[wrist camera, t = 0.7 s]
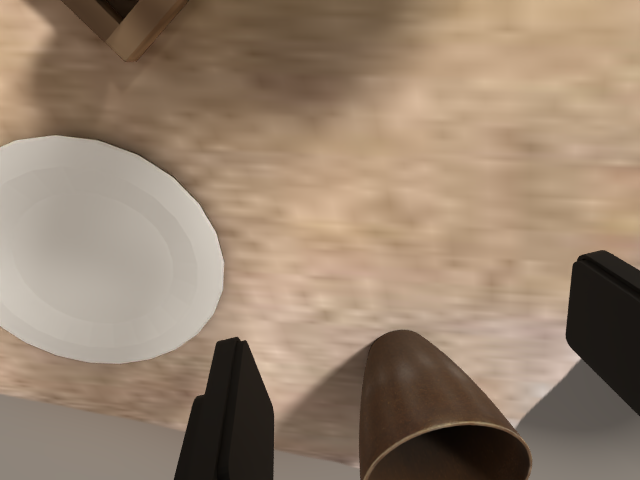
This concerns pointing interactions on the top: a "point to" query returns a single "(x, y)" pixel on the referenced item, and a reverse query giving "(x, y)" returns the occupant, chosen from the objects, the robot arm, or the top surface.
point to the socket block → (127, 23)
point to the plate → (101, 252)
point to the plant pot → (431, 419)
